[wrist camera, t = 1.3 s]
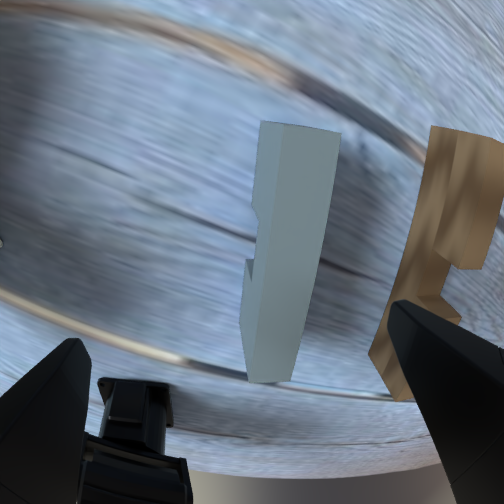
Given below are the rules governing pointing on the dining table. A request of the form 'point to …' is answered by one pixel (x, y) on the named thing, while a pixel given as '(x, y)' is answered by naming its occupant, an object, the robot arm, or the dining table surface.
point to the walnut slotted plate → (444, 233)
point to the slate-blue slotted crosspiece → (285, 243)
